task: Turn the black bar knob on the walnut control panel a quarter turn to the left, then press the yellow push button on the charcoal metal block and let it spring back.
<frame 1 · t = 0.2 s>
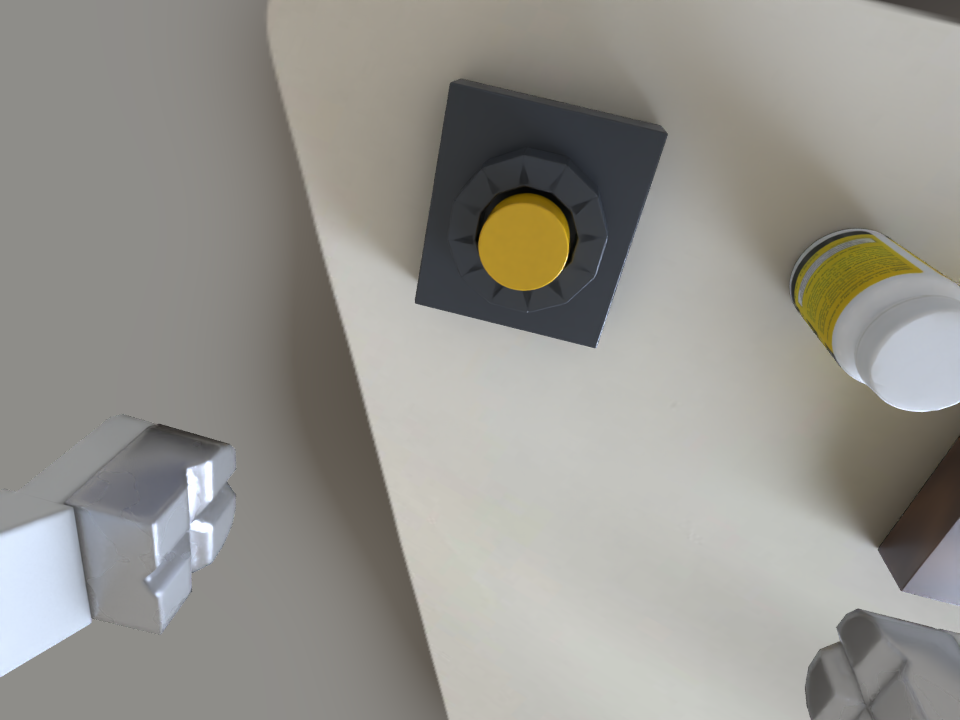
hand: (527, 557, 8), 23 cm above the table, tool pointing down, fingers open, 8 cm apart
button block: (532, 213, 29), on the table
trigger button: (524, 242, 25), point 4 cm above the table, slide at 0.1 cm
supplement bottle: (841, 275, 29), on the table
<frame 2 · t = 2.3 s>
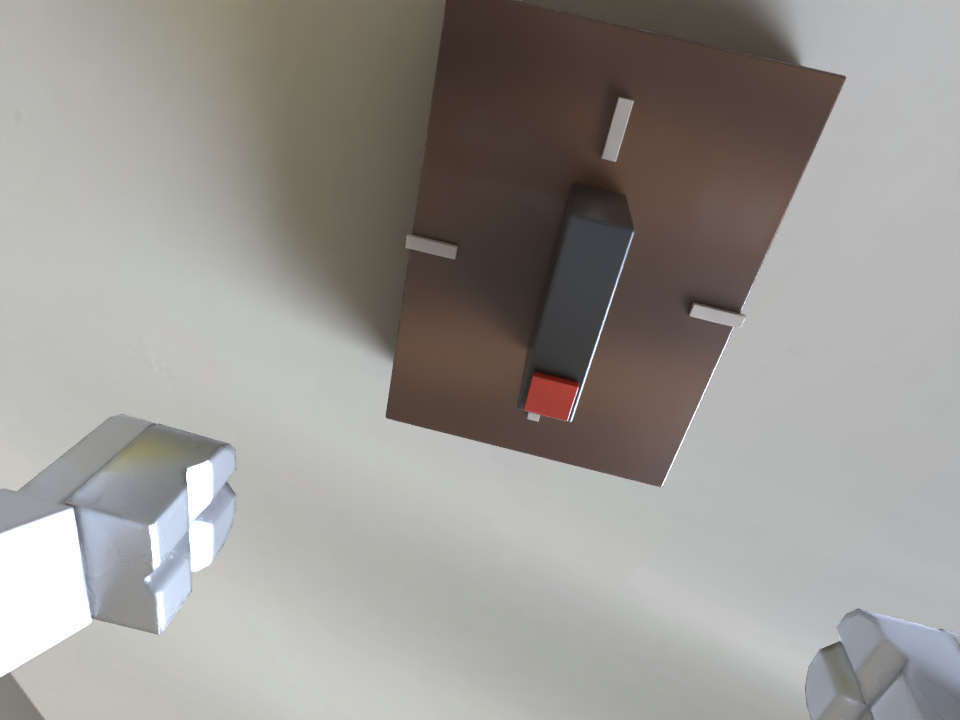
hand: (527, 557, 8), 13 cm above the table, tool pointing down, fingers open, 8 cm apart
dial panel: (574, 245, 19), on the table
dial knob: (572, 304, 15), point 5 cm above the table, hinge at 0.0°
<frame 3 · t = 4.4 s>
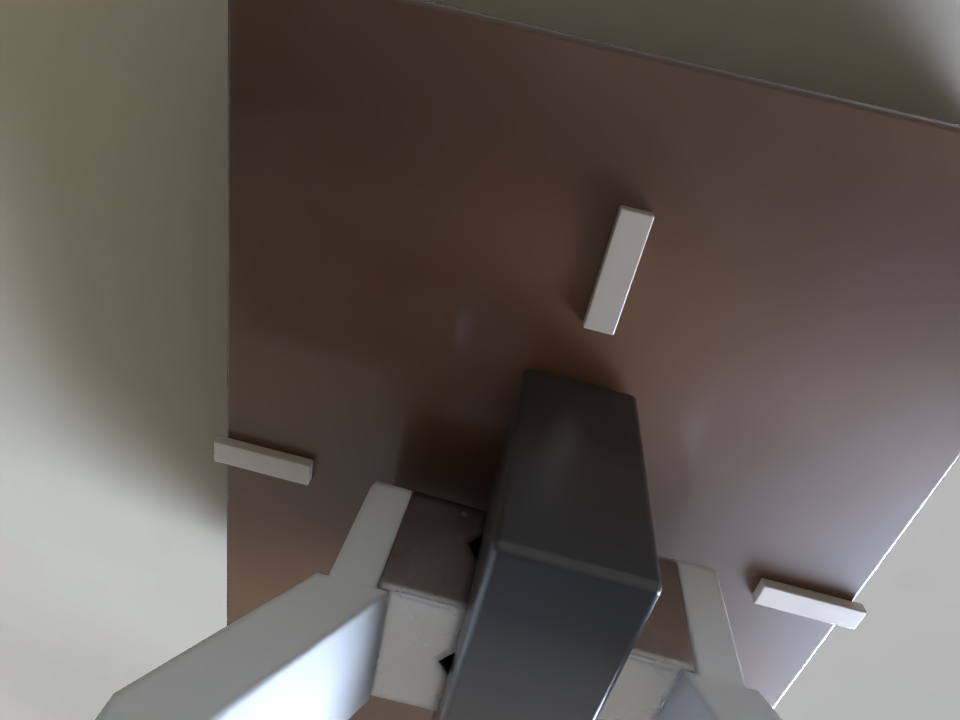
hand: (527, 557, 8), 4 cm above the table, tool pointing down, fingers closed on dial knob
dial panel: (544, 412, 11), on the table
dial knob: (520, 626, 7), point 5 cm above the table, hinge at 0.0°, touching gripper
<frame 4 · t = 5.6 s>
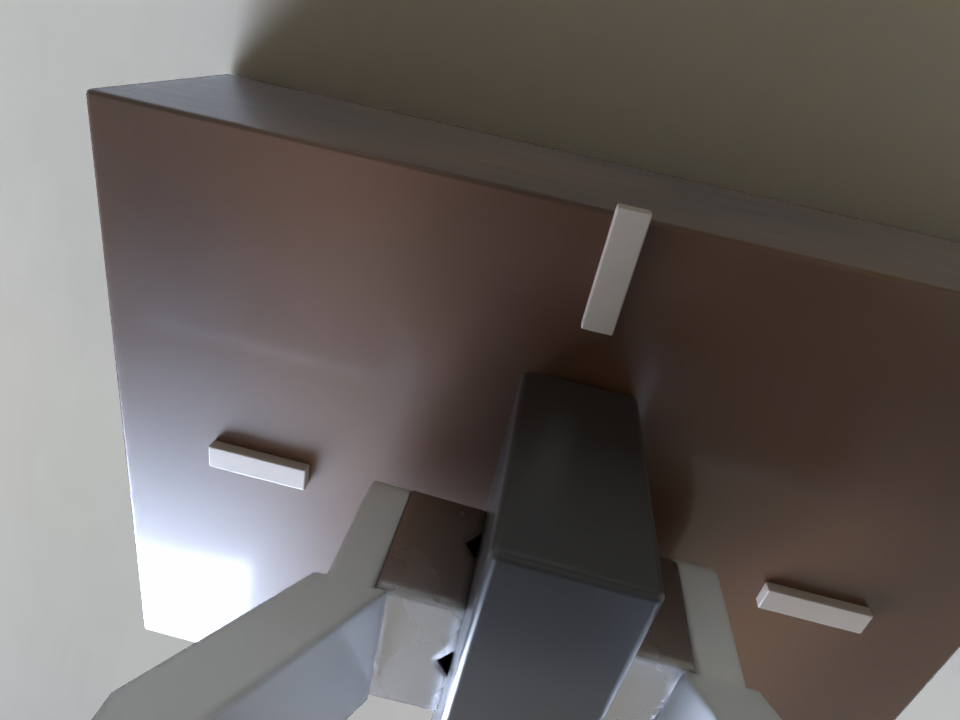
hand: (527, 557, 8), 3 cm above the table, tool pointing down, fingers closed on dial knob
dial panel: (544, 414, 11), on the table
dial knob: (520, 633, 7), point 5 cm above the table, hinge at 89.5°, touching gripper
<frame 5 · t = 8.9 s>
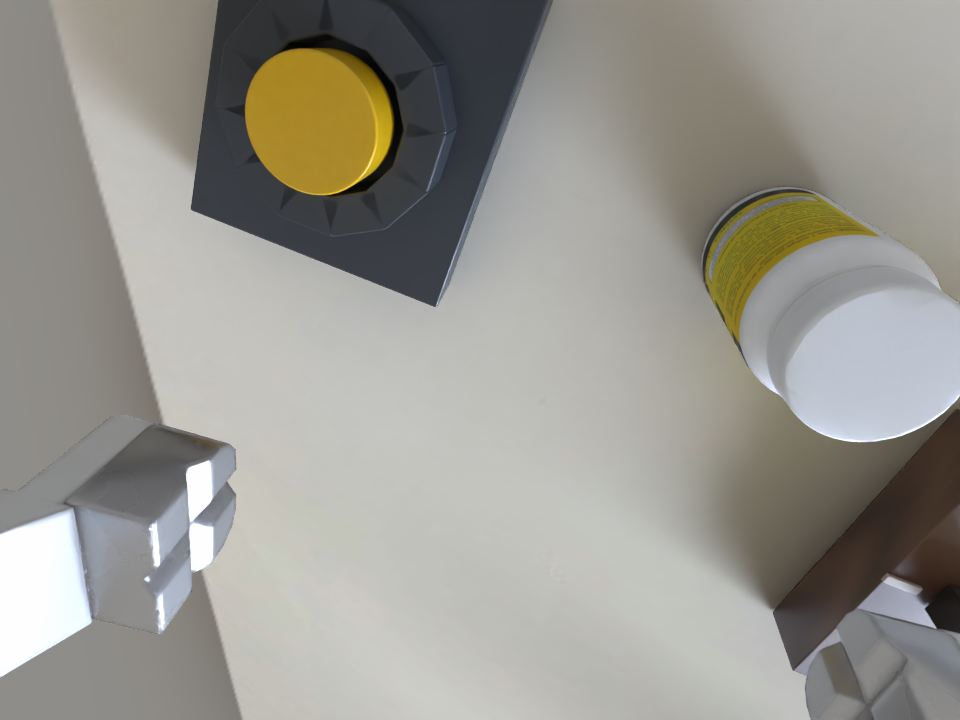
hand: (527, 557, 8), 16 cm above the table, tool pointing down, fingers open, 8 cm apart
button block: (370, 107, 21), on the table
dial panel: (952, 560, 26), on the table
trigger button: (322, 122, 17), point 4 cm above the table, slide at 0.1 cm
supplement bottle: (770, 253, 21), on the table
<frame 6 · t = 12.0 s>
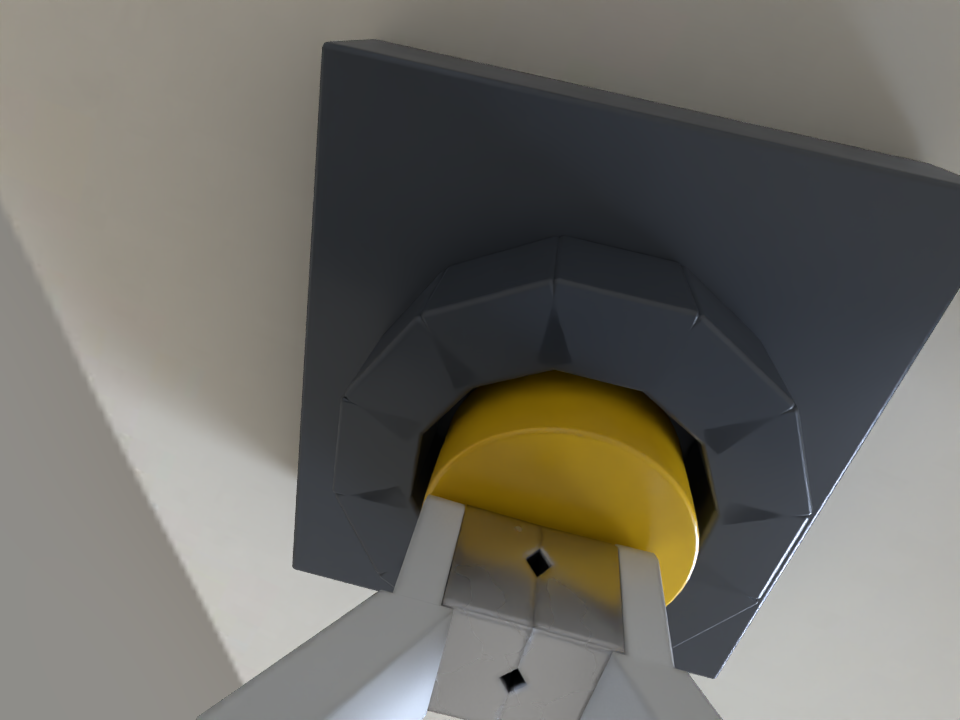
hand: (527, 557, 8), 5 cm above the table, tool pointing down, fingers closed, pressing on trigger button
button block: (565, 368, 12), on the table
trigger button: (557, 500, 9), point 4 cm above the table, slide at -0.5 cm, touching gripper
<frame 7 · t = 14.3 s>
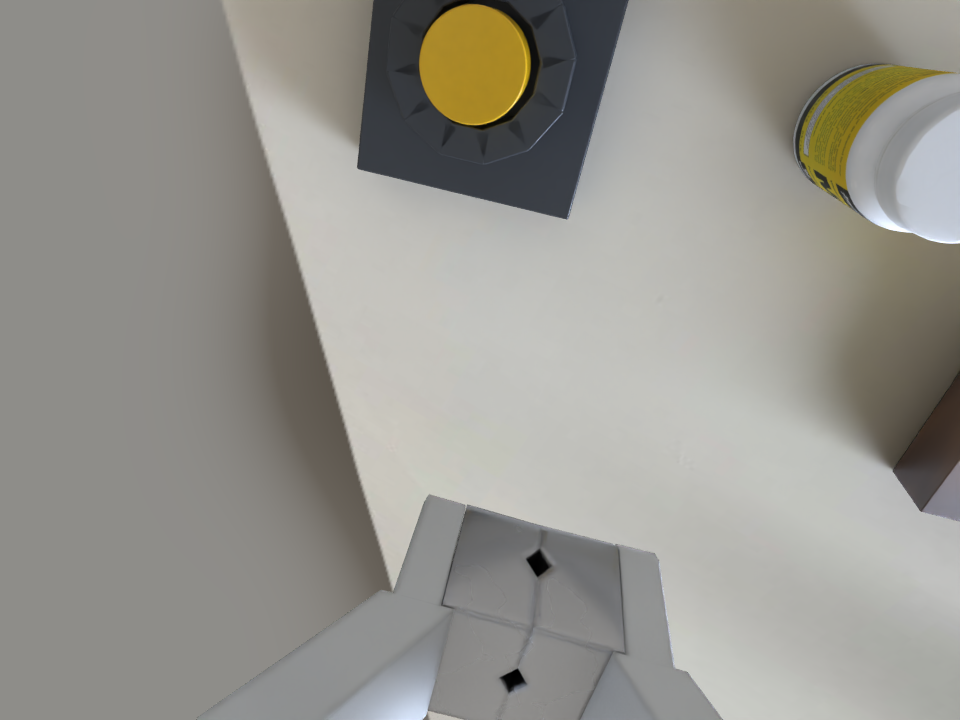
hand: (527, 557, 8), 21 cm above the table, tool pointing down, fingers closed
button block: (493, 60, 25), on the table
trigger button: (476, 65, 21), point 4 cm above the table, slide at 0.1 cm
supplement bottle: (854, 129, 24), on the table
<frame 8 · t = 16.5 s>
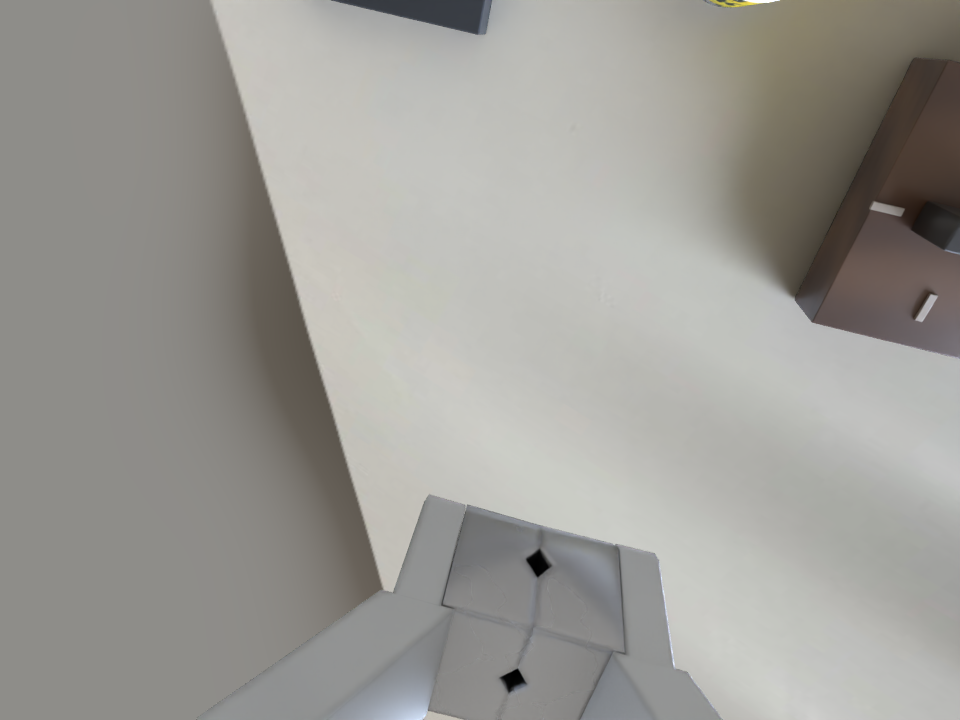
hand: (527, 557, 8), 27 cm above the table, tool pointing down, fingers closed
dial panel: (939, 211, 30), on the table
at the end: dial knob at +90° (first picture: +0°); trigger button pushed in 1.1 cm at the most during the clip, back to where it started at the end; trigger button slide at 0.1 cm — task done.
